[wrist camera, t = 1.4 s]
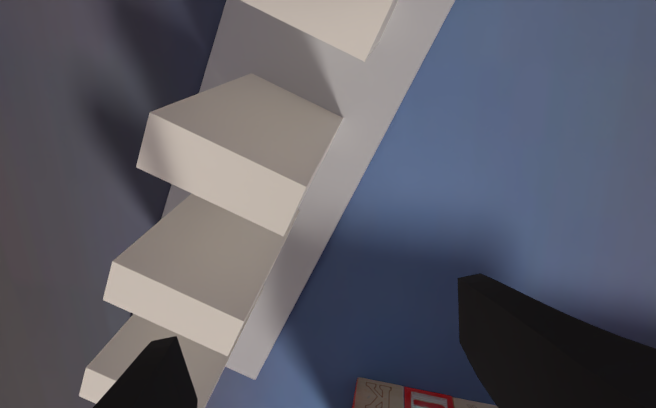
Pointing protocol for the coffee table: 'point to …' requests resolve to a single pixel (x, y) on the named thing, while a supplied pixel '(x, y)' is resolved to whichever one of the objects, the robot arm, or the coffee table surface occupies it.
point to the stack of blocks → (405, 397)
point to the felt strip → (347, 146)
